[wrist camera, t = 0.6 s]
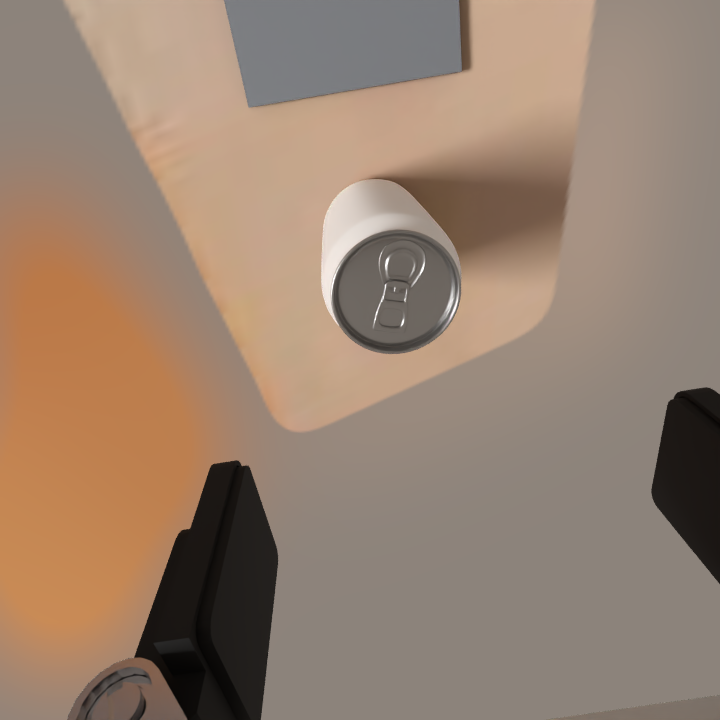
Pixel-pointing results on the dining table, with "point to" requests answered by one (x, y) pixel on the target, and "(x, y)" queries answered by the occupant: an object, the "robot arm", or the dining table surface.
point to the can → (387, 268)
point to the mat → (340, 44)
